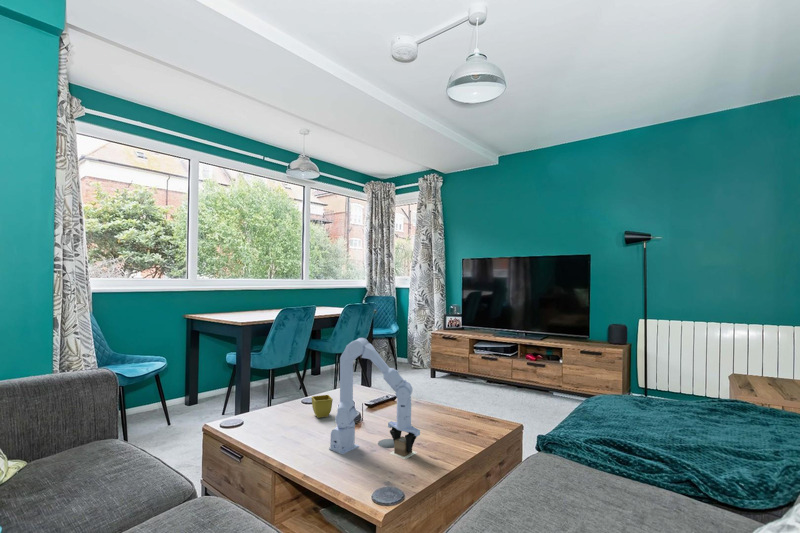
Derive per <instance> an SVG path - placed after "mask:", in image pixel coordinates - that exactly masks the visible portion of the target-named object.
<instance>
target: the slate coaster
mask: <svg viewBox="0 0 800 533" xmlns="http://www.w3.org/2000/svg"><path fill="white" fill-rule="evenodd" d="M377 445H378V447H380V448H382V449H383V448H384V449H393V448H394V440H393V438H384V439H380V440H379V441H378V442H377Z"/></svg>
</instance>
